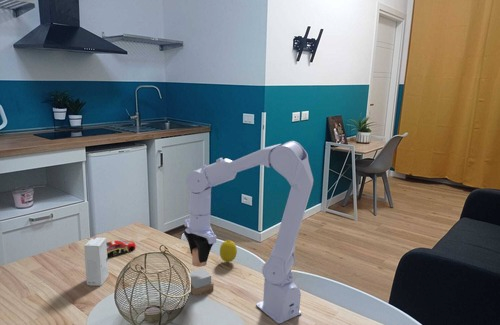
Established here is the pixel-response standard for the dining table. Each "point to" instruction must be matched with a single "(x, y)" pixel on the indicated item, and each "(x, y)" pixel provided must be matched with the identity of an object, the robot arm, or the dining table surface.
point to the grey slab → (200, 278)
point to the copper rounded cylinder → (196, 258)
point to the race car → (119, 247)
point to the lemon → (228, 251)
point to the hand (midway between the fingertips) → (199, 258)
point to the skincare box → (96, 261)
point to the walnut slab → (202, 289)
